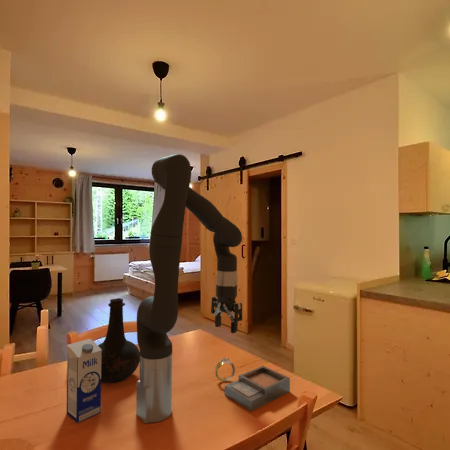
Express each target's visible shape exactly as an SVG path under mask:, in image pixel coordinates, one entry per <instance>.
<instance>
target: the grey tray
mask: <svg viewBox="0 0 450 450" xmlns="http://www.w3.org/2000/svg"><path fill="white" fill-rule="evenodd" d="M237 377H238V379H237V380H235V381H233V382H230V383H228V384H225V385H224V396H225V397H227V398H229V399H231V400H232V401H234V402H235V403H236V404H239V405H240V406H242V407H243V408H244V409H246V410H247V411H249V412H253V411H255V410H257V409H258V408H261V407H262V406H265V405H267V404H268V403H271V402H272V401H274V400H277V399H278V398H280V397H282V396H284V395H286V394H288V393H290V392H291V389H290V388H291V378H290V377H289V376H287V375H285V374H282V373H280V372H278V371H277V370H276V371H275V370H273V369H271V368H270V367H267V366H265V365H262V366H259V367H257V368H254V369H251V370H248V371H246V372H244V373H241V374H239V375H238V376H237Z"/></svg>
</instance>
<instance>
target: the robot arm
mask: <svg viewBox="0 0 450 450" xmlns="http://www.w3.org/2000/svg"><path fill="white" fill-rule="evenodd" d="M151 176H152V178H153V181H154V182H155V183H156V184H157V185H158V186H160V187H161V188H162V189H163V190H164V195H163V196H164V197H163V202H162V205H161V207H160V209H159V211H158V214H157V215H156V217H155V219H154V220H153V221H154V222H153V224H152V227H151V230H150V231H151V232H150V237H149V249H148V251H149V261H150V265H151V268H152V272H153V277H154V291H153V295H151V296H150V295H149V296H148V297H145V298H143V300H142V301H141V302H140V304H139V305H138V308H137V312H136V339H137V341H136V342H137V345H138V346H137V347H138V349H139V351H140V362H139V380H138V379H137V381H136V392H135V393H136V394H135V395H136V397H135V398H136V400H135V401H136V404H135V406H136V407H135V411H136V413H135V415H136V416H138V418H140V420H141V421H143V423H144V424H148V423H157V422H161V421H164V420H167V419H168V418H169V417H170V416H171V414H172V407H173V401H172V400H173V343H172V340H171V339H170V337H169V336H168V333H170V331H171V330H172V329H173V328H174V327H175V325H176V323H177V320H178V317H179V316H178V315H179V277H180V264H181V263H180V262H181V253H182V246H183V235H184V234H183V232H184V223H185V222H184V221H185V214H186V208H187V210H188V211H190V212H191V213H192V215H194V216H195V218H196V219H198V221H199V222H200V223H201V225H203V226H204V227H205V229H207V231H209V232H211V233H213V237H212V238H213V240H212V242H213V246H214V251H215V255H216V258H217V261H216V263H217V264H216V276H215V296H213V297H211V304H210V305H211V307H210V313H211V314H213V316H214V326H215V328H220V327H221V326H222V315H223V313H225V314H227V317H229V319H230V321H231V322H230V333H231V334H236V333H237V332H238V323H239V322H241V321H243V303H242V302H237V301H236V298H237V297H238V258H237V255H236V254H234V253H232V252H231V250H230V248H237V247H238V246H240V244H241V243H242V241H243V235H242V232H241V230H240V229H239V227H238V226H237V225H236V224H235V223H233V222H232V221H230V219H229V218H227V217H225V216H223V215H222V213H221V212H220V211H219V209H218V208H217V207H216V206H215V205H214V203H212V201H210V200H209V199H207V198H206V197H204V196H203V195H201V194H200V193H198V192H196V190H194V189H192V188H191V187H190V184H191V181H192V179H191V178H192V166H191V162H190V161H189V159H188V158H187V157H186V156H185V155H184V154H180V153H176V154H171V155H168V156H164V157H160V158H158V159H157V160H155V161H154V162H153V164H152V166H151Z"/></svg>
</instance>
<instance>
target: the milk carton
mask: <svg viewBox="0 0 450 450" xmlns="http://www.w3.org/2000/svg"><path fill="white" fill-rule="evenodd" d="M98 345H99V344H97V343H96V342H95V341H94V340H92V338H88V339H83V340H80V341H77V342H72V343H69V344H67V345H66V347H67V360H66V364H67V365H66V415H67V416H68V417H69V418H70V419H71V420H73V421H74V422H75V423H77V424H79V423H81V422H84V421H85V420H88V419H90V418H92V417H94V416H96V415H98V414H101V408H102V405H101V404H102V398H101V397H102V382H101V348H100V347H99V346H98Z"/></svg>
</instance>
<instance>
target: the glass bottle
mask: <svg viewBox="0 0 450 450" xmlns="http://www.w3.org/2000/svg"><path fill="white" fill-rule="evenodd" d="M109 301H110V302H109V303H108V307H109V315H108V317H109V318H108V325H107V326H108V327H107V330H106V331H107V332H106V334H105V338H104V340H103V341H102V342H101V343H100V344H97V345H98V346H99V347H100V348H101V383H104V384H116V383H121V382H123V381H126V380H127V379H128V378H130V377H132V375H133V374H134V372H135V371H136V370H137V369H138V367H139V366H140V349H139V346H137V345H136V344H135V343H133V342H132V341H130V340H128V339H126V335H125V328H124V307H125V306H126V303H125V302H124V299H123V298H118V297H117V298H111V299H110V300H109Z"/></svg>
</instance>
